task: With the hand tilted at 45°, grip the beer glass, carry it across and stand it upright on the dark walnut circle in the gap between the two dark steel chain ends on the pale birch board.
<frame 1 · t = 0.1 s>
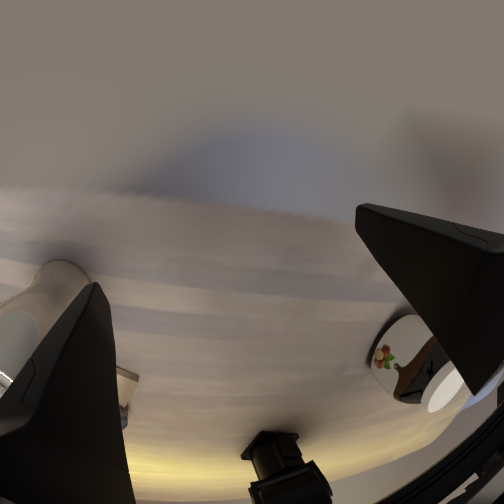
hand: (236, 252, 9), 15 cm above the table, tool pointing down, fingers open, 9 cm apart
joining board: (17, 361, 22), on the table
beer glass: (64, 291, 23), on the table
spread jar: (394, 347, 36), on the table
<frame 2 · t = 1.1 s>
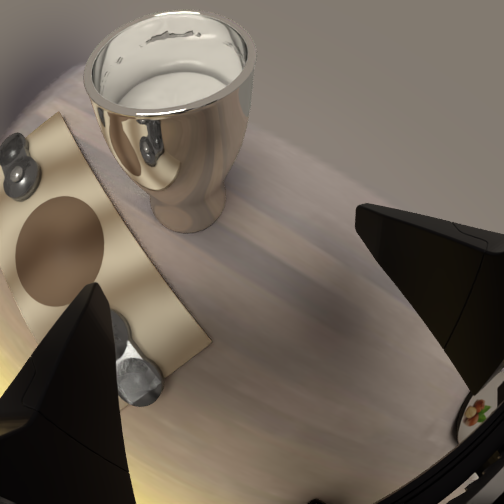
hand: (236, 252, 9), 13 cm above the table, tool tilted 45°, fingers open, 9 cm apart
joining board: (61, 252, 21), on the table
chain ends: (50, 247, 19), on the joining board, point 1 cm above the table
beer glass: (187, 197, 23), on the table
spread jar: (474, 424, 23), on the table
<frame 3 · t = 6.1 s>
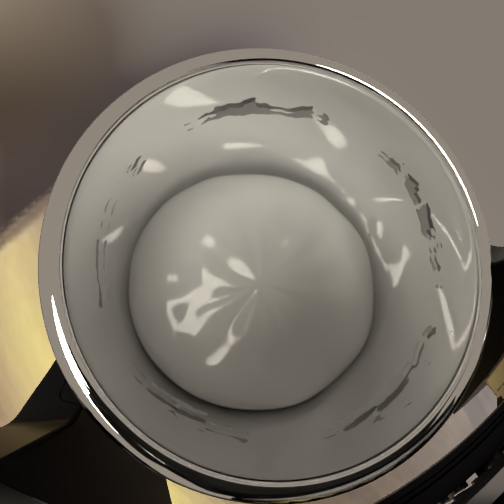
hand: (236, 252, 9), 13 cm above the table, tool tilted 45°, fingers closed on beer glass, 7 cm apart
beer glass: (231, 310, 18), point 4 cm above the table, touching gripper
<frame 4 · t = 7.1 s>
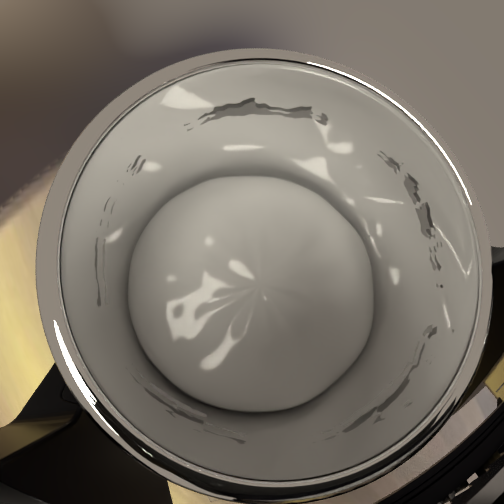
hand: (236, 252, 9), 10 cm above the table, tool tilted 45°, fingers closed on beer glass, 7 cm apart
beer glass: (232, 314, 18), point 1 cm above the table, touching gripper, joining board
when the fingers open (10 cm above the table, at t = 7.3 s): beer glass stays where it is, resting on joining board.
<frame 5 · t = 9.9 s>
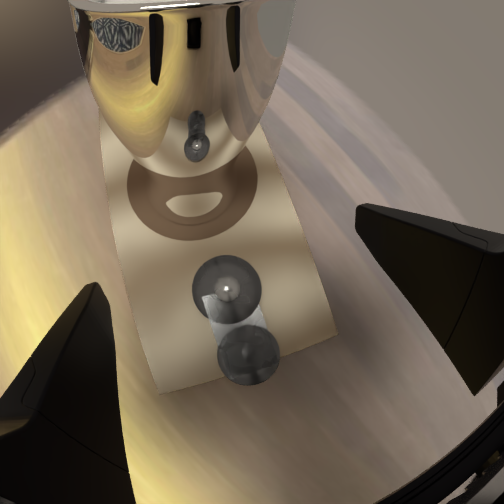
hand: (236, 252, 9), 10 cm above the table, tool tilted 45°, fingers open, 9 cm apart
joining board: (192, 182, 20), on the table
chain ends: (190, 170, 19), on the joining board, point 1 cm above the table
beer glass: (191, 183, 19), point 1 cm above the table, touching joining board
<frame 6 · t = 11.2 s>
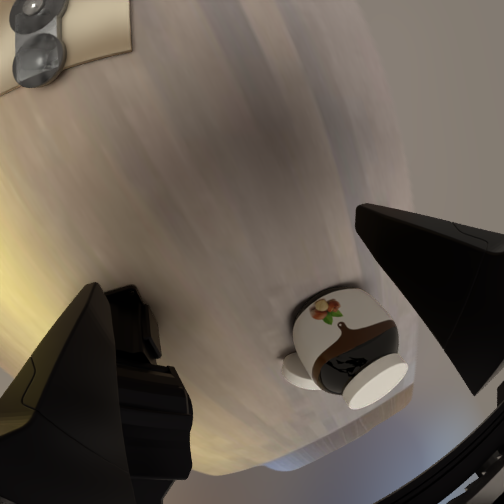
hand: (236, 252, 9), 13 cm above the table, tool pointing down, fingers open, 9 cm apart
spread jar: (316, 323, 34), on the table
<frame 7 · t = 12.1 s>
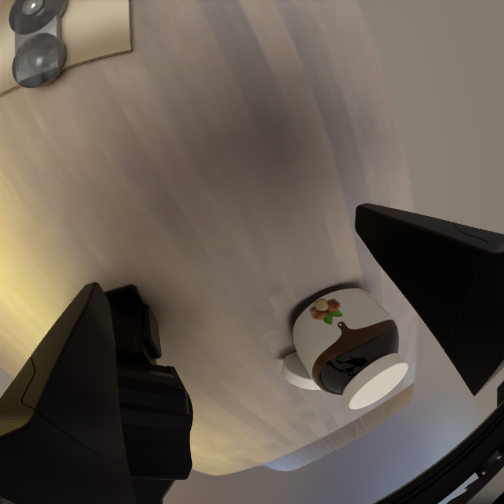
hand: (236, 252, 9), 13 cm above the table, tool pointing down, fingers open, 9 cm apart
spread jar: (316, 323, 34), on the table
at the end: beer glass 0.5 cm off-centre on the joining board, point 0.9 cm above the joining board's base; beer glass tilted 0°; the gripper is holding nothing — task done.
